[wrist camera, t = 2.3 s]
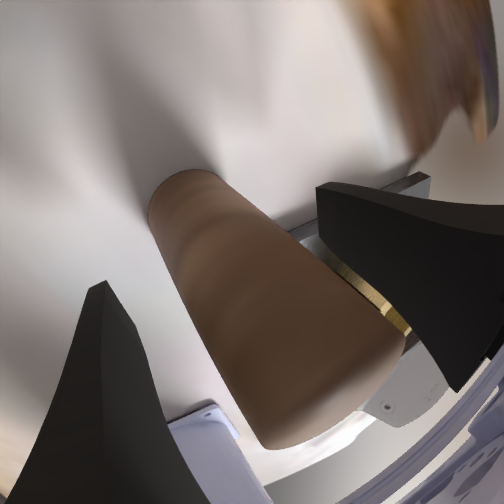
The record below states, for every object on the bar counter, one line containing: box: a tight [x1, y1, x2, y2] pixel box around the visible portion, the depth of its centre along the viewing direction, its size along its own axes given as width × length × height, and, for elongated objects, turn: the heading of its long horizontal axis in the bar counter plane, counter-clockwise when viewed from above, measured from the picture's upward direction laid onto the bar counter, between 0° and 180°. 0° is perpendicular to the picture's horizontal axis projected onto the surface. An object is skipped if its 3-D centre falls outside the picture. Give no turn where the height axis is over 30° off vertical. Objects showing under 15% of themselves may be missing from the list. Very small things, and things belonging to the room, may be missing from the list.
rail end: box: [148, 169, 406, 450], centre depth 9 cm, size 4×4×9 cm
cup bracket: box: [287, 171, 431, 365], centre depth 18 cm, size 12×12×5 cm
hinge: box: [355, 343, 449, 427], centre depth 31 cm, size 17×5×10 cm, turn 160°
